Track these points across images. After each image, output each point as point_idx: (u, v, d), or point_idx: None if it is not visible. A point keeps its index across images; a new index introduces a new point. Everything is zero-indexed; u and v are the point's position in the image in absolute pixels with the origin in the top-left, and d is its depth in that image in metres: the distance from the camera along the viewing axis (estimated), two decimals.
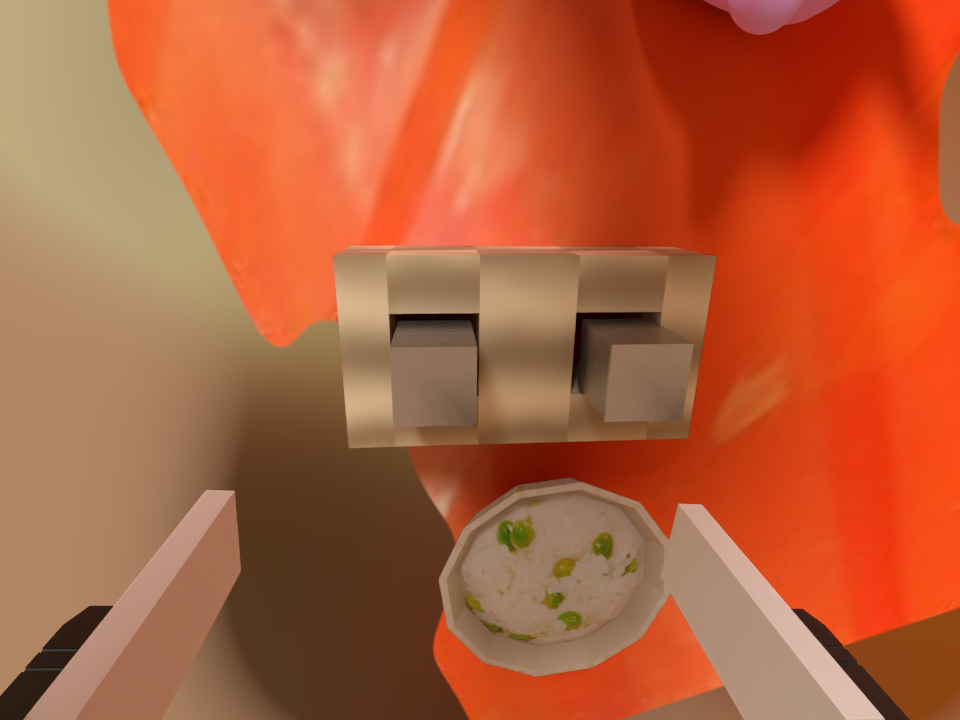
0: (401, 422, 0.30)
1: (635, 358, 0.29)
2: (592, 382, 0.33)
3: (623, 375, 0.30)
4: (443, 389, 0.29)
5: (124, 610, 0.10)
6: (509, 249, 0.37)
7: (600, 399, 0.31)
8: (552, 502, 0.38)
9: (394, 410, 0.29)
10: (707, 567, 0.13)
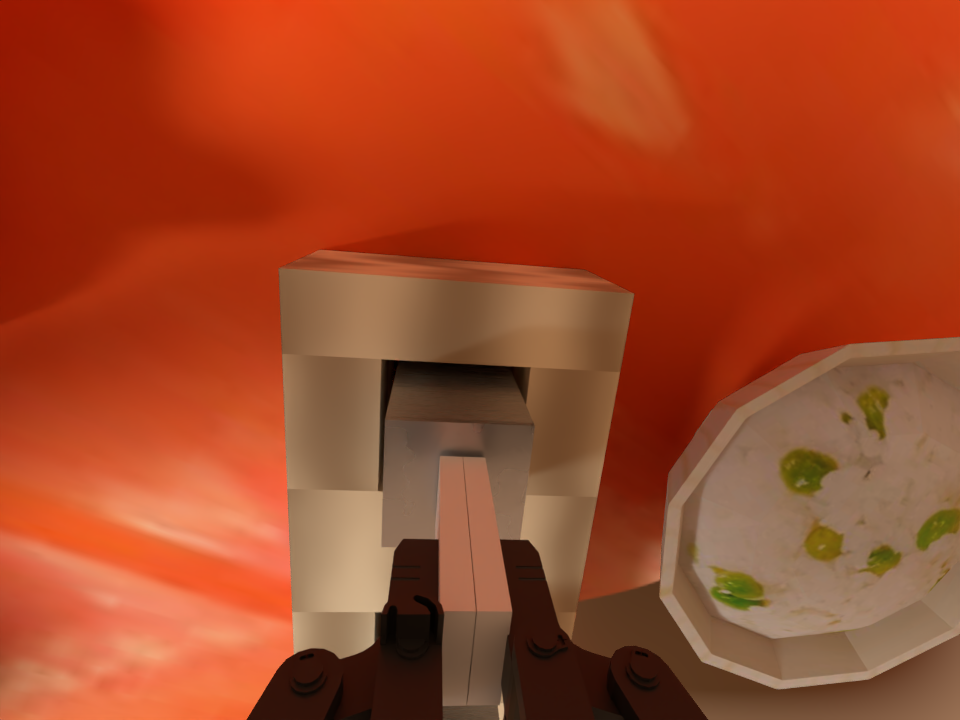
0: None
1: (407, 511, 0.17)
2: None
3: None
4: None
5: (450, 537, 0.12)
6: None
7: None
8: (698, 526, 0.23)
9: None
10: None
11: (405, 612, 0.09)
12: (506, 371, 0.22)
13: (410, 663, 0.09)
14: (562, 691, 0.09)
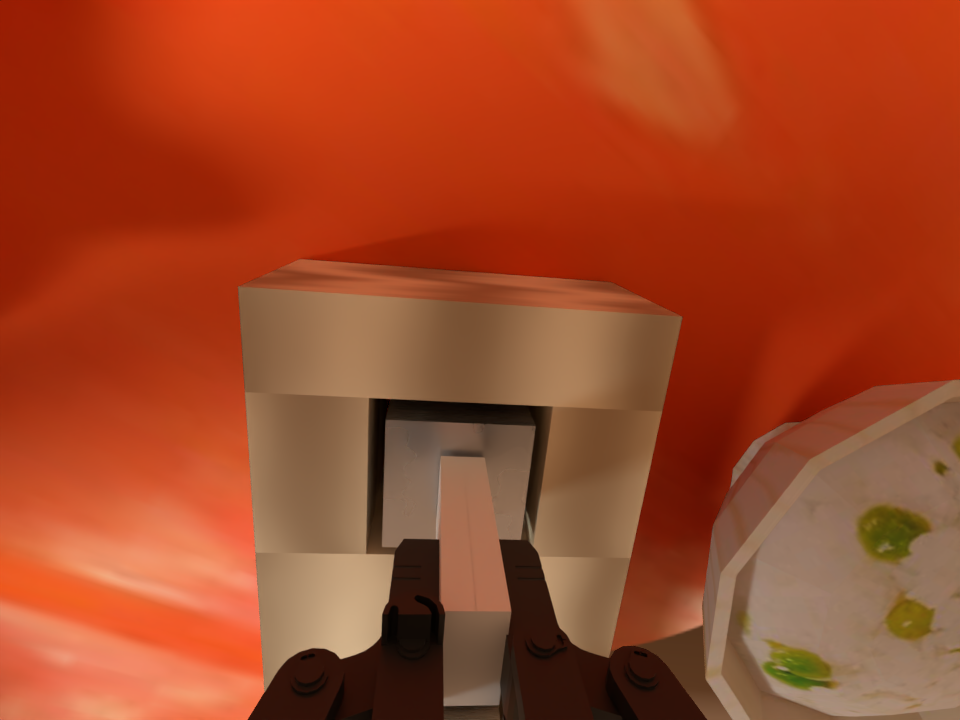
0: None
1: (408, 511, 0.17)
2: None
3: None
4: None
5: (451, 537, 0.12)
6: None
7: None
8: (752, 593, 0.19)
9: None
10: None
11: (406, 612, 0.09)
12: None
13: (411, 663, 0.09)
14: (561, 691, 0.09)
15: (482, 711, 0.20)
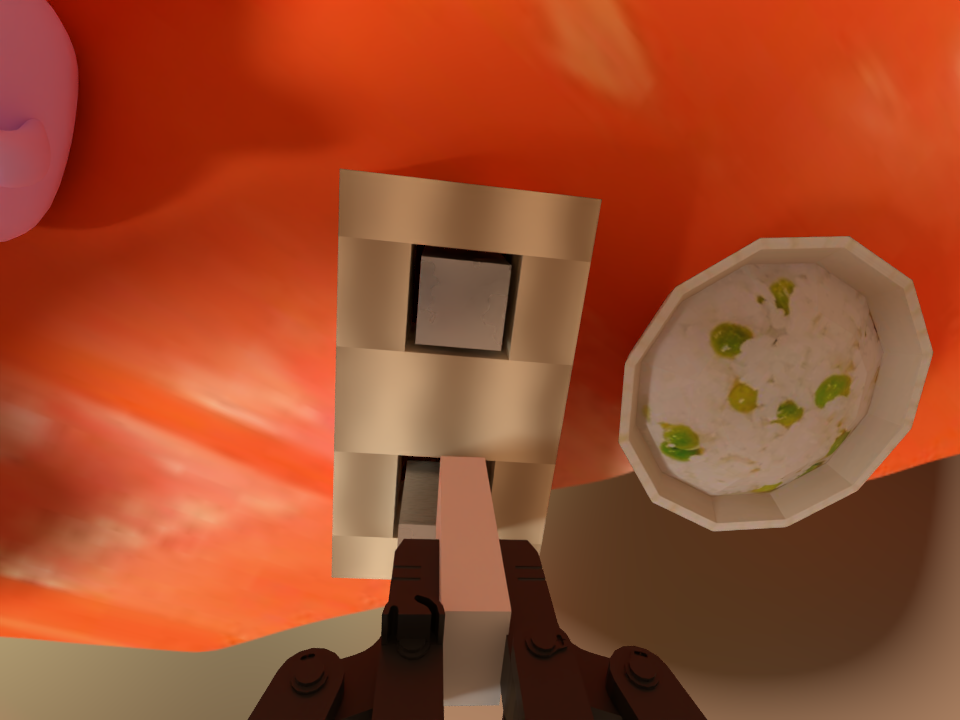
0: None
1: (432, 319, 0.28)
2: None
3: (450, 332, 0.28)
4: None
5: (451, 537, 0.12)
6: None
7: None
8: (650, 390, 0.30)
9: None
10: None
11: (406, 612, 0.09)
12: (497, 254, 0.33)
13: (411, 663, 0.09)
14: (561, 691, 0.09)
15: None
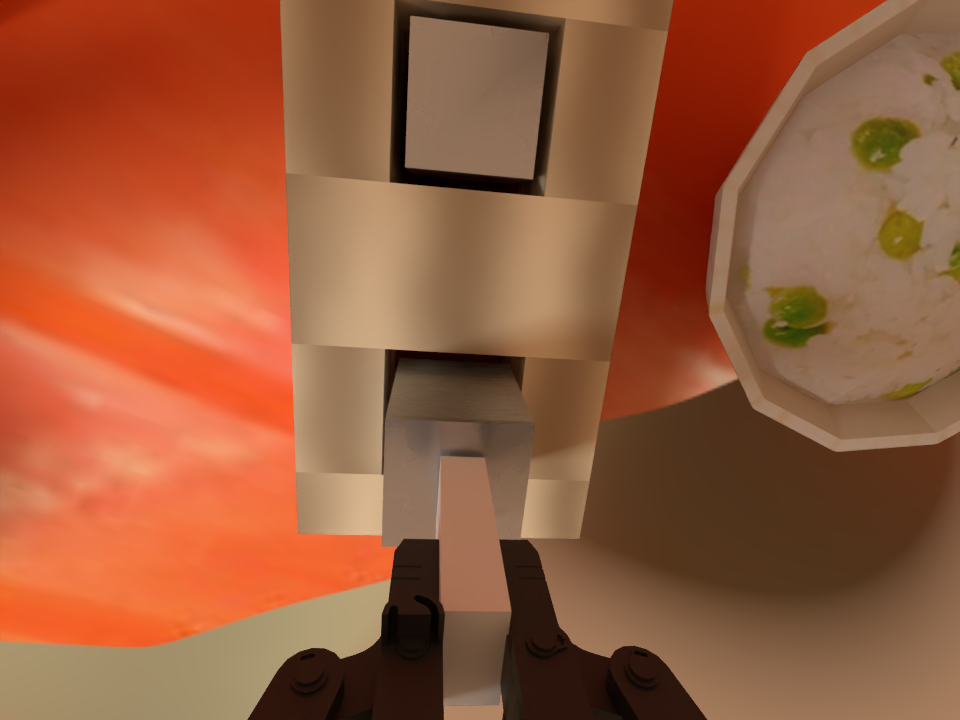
0: (512, 537, 0.18)
1: (429, 126, 0.19)
2: (488, 178, 0.22)
3: (457, 147, 0.19)
4: None
5: (451, 537, 0.12)
6: None
7: (503, 177, 0.20)
8: (753, 240, 0.20)
9: None
10: None
11: (406, 612, 0.09)
12: None
13: (411, 663, 0.09)
14: (561, 691, 0.09)
15: (496, 369, 0.22)
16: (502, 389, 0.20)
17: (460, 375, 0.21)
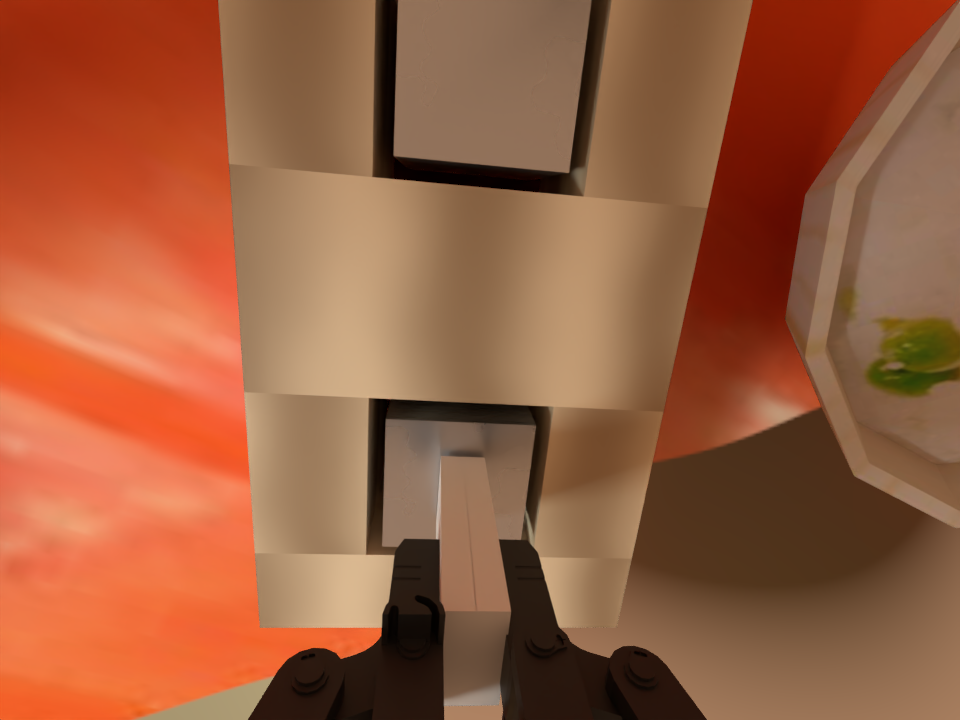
0: (513, 537, 0.18)
1: (427, 99, 0.13)
2: (504, 172, 0.17)
3: (465, 128, 0.14)
4: None
5: (451, 537, 0.12)
6: None
7: (527, 171, 0.15)
8: (862, 255, 0.15)
9: None
10: None
11: (406, 612, 0.09)
12: None
13: (411, 663, 0.09)
14: (561, 691, 0.09)
15: None
16: None
17: None
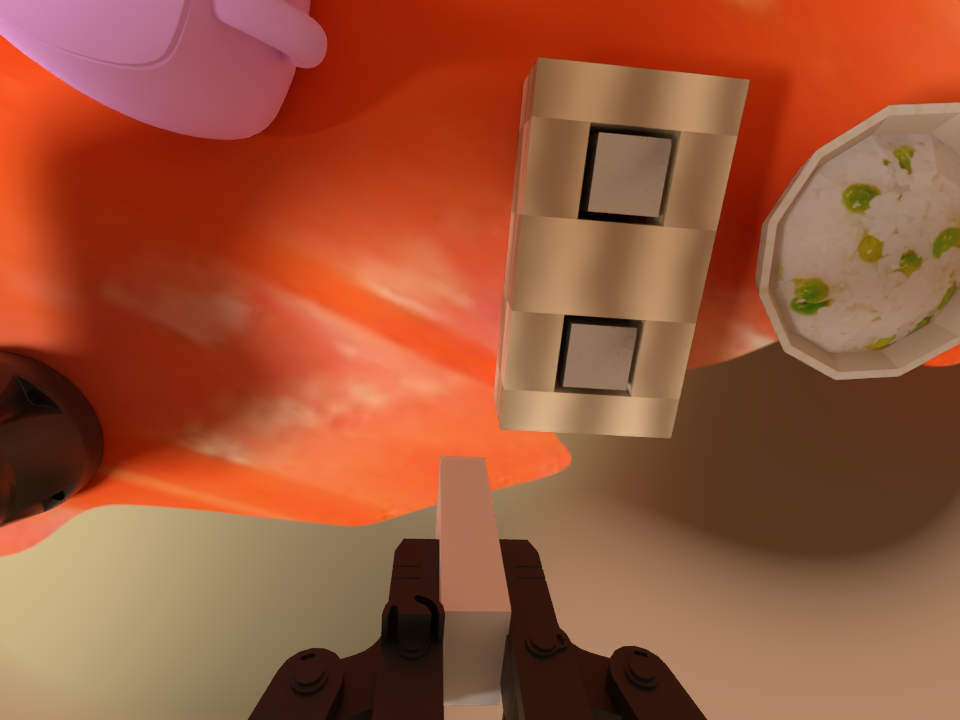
0: (623, 384, 0.38)
1: (603, 189, 0.34)
2: None
3: (617, 200, 0.34)
4: (602, 351, 0.37)
5: (451, 537, 0.12)
6: (509, 268, 0.39)
7: None
8: (785, 251, 0.35)
9: (612, 388, 0.38)
10: None
11: (406, 612, 0.09)
12: None
13: (411, 663, 0.09)
14: (561, 691, 0.09)
15: None
16: None
17: None
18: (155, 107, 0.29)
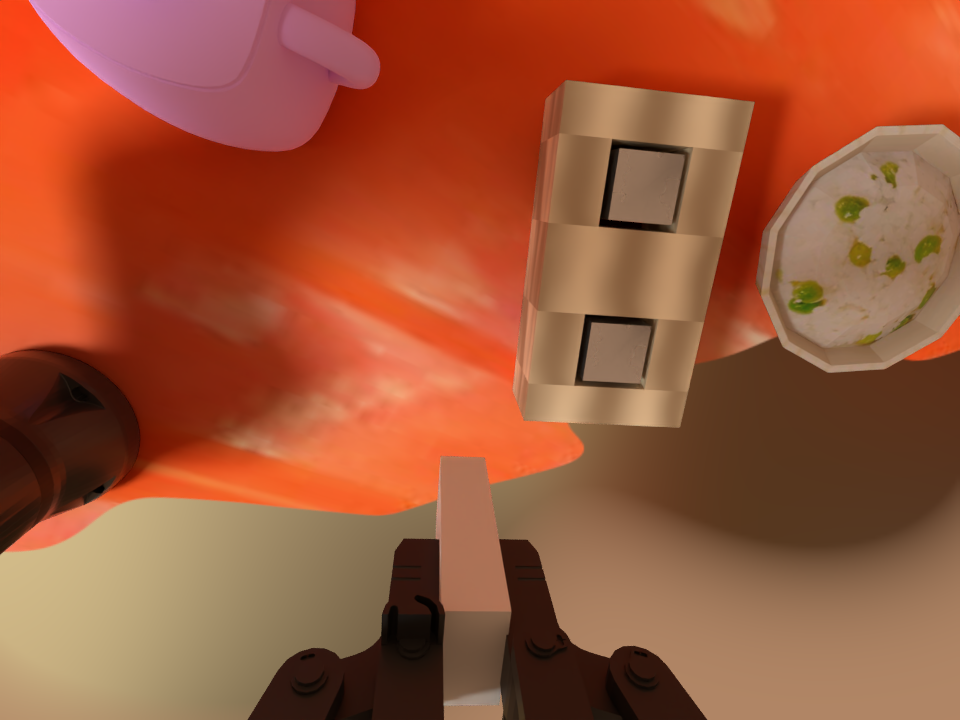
0: (637, 378, 0.42)
1: (622, 199, 0.37)
2: None
3: (635, 209, 0.37)
4: (619, 347, 0.41)
5: (451, 537, 0.12)
6: (531, 271, 0.42)
7: None
8: (784, 256, 0.39)
9: (627, 381, 0.42)
10: None
11: (406, 612, 0.09)
12: None
13: (411, 663, 0.09)
14: (561, 691, 0.09)
15: None
16: None
17: None
18: (217, 124, 0.32)
